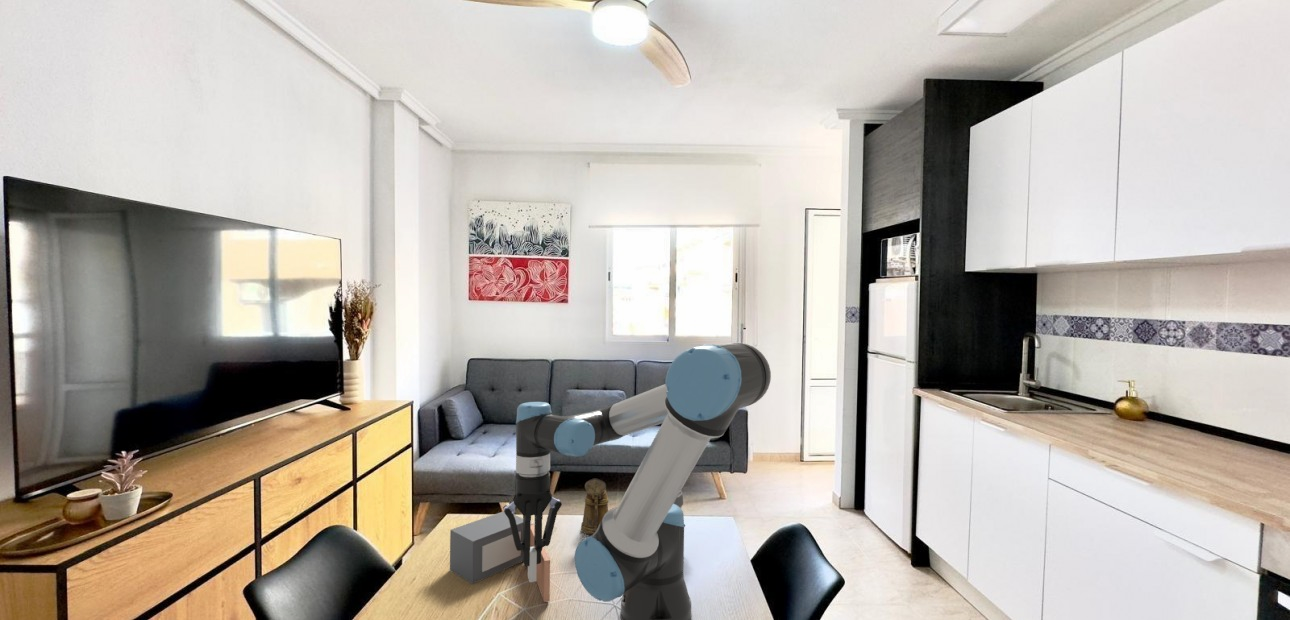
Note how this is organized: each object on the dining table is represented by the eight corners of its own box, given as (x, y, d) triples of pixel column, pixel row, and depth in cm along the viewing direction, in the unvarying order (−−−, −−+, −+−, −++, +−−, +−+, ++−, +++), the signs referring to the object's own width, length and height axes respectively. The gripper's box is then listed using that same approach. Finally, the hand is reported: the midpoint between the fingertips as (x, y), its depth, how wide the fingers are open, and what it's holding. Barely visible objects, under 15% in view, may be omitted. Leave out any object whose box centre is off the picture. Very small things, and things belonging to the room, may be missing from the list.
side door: (533, 556, 132) (533, 522, 132) (550, 600, 112) (551, 559, 112) (527, 557, 132) (527, 523, 132) (543, 602, 111) (543, 561, 112)
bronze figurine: (577, 542, 142) (578, 478, 142) (582, 523, 155) (582, 464, 155) (609, 542, 142) (610, 478, 142) (611, 522, 156) (612, 464, 156)
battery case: (528, 559, 132) (528, 520, 132) (473, 584, 119) (474, 541, 119) (504, 547, 138) (504, 510, 138) (449, 570, 126) (450, 529, 126)
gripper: (505, 480, 108) (504, 593, 107) (565, 473, 113) (564, 581, 112) (501, 470, 114) (499, 576, 114) (557, 464, 120) (556, 565, 119)
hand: (531, 578), depth 113 cm, fingers closed
